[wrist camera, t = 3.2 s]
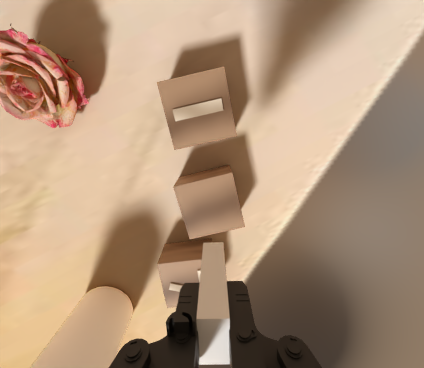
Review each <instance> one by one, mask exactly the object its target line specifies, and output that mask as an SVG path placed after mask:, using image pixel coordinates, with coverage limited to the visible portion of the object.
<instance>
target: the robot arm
mask: <svg viewBox="0 0 424 368" xmlns="http://www.w3.org/2000/svg"><path fill="white" fill-rule="evenodd" d="M166 327H167V336H166V337H164V338H163V339H161V340H159V341H156V342H153V343H150V344H148V343H147V341H145V340H143V339H134V340H131V341H129V342H128V343H126V344H125V345H124V346H123V347H122V348H121V350H120V351H119V353H118V354H117V356H116V357H115V359H114V360H113V362H112V363H111V365H110V366H109V368H199V364H230V368H322V367H321V366H320V364H319V363H318V361H317V360H316V358H315V357H314V355H313V354H312V352H311V351H310V349H309V348H308V347H307V345H306V344H305V343H304V342H303V341H302V340H300V339H299V338H297V337H294V336H291V335H288V336H283V337H282V338H280V340H279V341H276V340H273V339H270V338H267V337H265V336H263V335H262V334H261V333H260V332H259V331H258V330H257V328H256V326H255V324H254V319H253V314H252V309H251V304H250V299H249V295H248V290H247V286H246V285H245V284H244V283H243V281H227V279H226V267H225V255H224V243H223V242H209V243H203V252H202V263H201V274H200V283H184V285H183V286H182V288H181V289H180V293H179V298H178V304H177V308H176V312H174V313H172V314H171V315H170V316H169V317H168V319H167V321H166Z"/></svg>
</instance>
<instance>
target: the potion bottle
mask: <svg viewBox="0 0 424 368" xmlns="http://www.w3.org/2000/svg"><path fill="white" fill-rule="evenodd" d="M132 313H133V307H132V303H131V300H130V299H129V297H128V296H127V295H126V294H125V293H123V292H122V291H121V290H119V289H116V288H114V287H108V286H103V287H97V288H94V289H92V290H90V291H89V292H87V293H86V294H85V295H84V296H83V297H82V299H81V300H80V301H79V303H78V304H77V305H76V307H75V308H74V309H73V311H72V312H71V313H70V315H69V316H68V317H67V319H66V320H65V321H64V323H63V324H62V325H61V327H60V328H59V329H58V331H57V332H56V333H55V335H54V336H53V338H52V339H51V340H50V342H49V343H48V344H47V346H46V347H45V348H44V350H43V351H42V352H41V354H40V355H39V356H38V358H37V359H36V360H35V362H34V363H33V364H32V366H31V367H30V368H109V366H110V365H111V363H112V362H113V360H114V359H115V357H116V354H117V352H118V349H119V347H120V345H121V342H122V340H123V337H124V335H125V332H126V330H127V328H128V325H129V323H130V320H131V318H132Z"/></svg>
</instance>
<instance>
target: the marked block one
mask: <svg viewBox="0 0 424 368" xmlns="http://www.w3.org/2000/svg"><path fill="white" fill-rule="evenodd" d="M157 85H158V89H159V92H160V96H161V100H162V104H163V108H164V112H165V115H166V119H167V123H168V127H169V131H170V134H171V138H172V142H173V146H174V150H176V149H181V148H185V147H190V146H194V145H199V144H203V143H208V142H212V141H217V140H221V139H226V138H230V137H235V136H237V134H236V128H235V123H234V117H233V112H232V106H231V101H230V96H229V90H228V85H227V79H226V74H225V68H224V66H223V67H219V68H215V69H211V70H206V71H202V72H198V73H194V74H190V75H186V76H181V77H177V78H173V79H169V80H165V81H160V82H157Z"/></svg>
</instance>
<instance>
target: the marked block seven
mask: <svg viewBox="0 0 424 368" xmlns="http://www.w3.org/2000/svg"><path fill="white" fill-rule="evenodd" d="M209 242H212V240H211V239H204V240H195V241H187V242H178V243H169V244H165V246H164V248H163V251H162V253H161V256H160V258H159V261H158V264H157V265H158V270H159V274H160V278H161V283H162V287H163V292H164V296H165V301H166V305H167V308H171V307H177V304H178V298H179V293H180V289H181V288H182V286H183V285H184V283H200V274H201V263H202V252H203V243H209Z"/></svg>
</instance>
